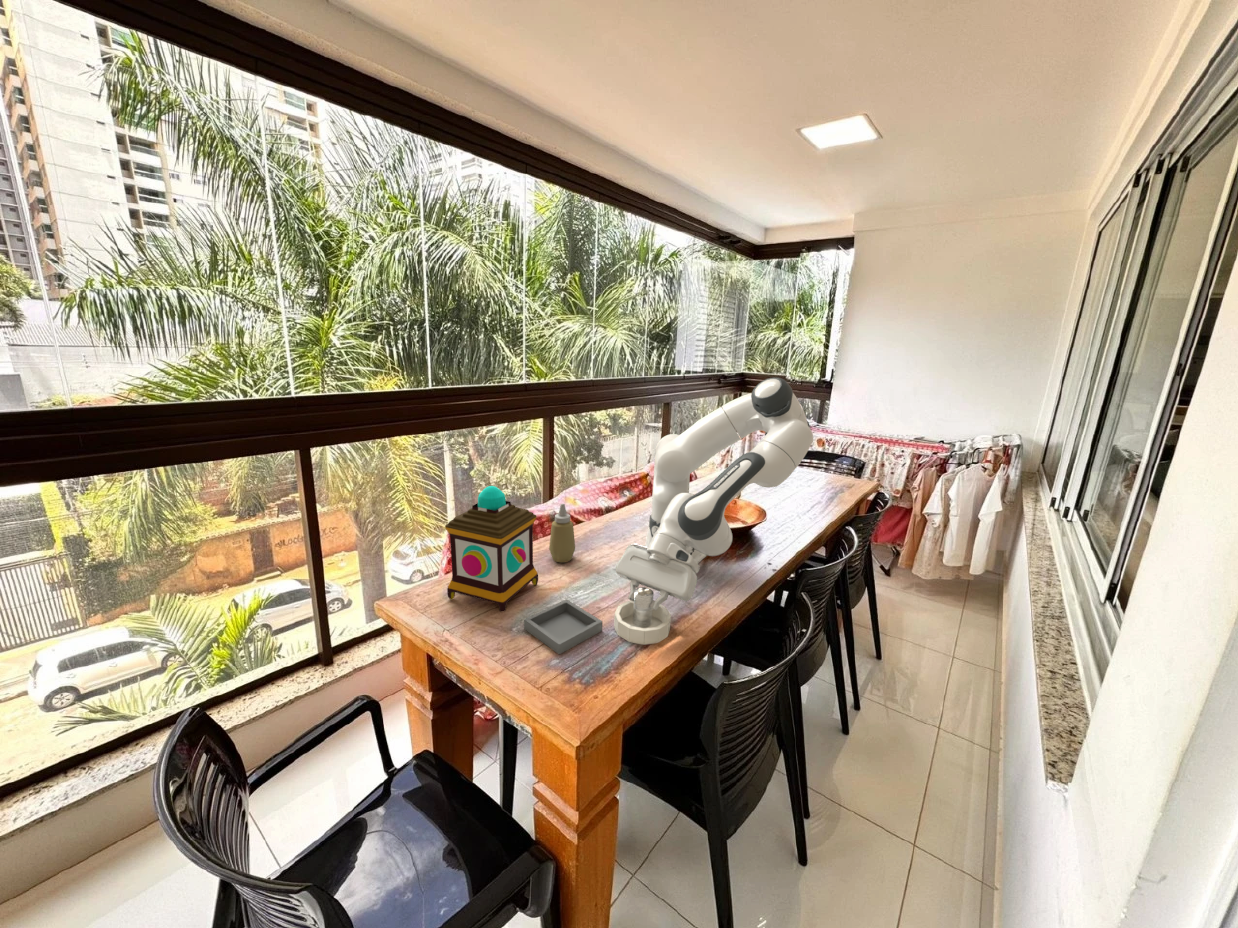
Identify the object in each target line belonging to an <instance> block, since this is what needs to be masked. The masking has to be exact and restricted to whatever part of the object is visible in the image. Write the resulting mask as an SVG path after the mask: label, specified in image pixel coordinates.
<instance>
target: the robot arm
mask: <svg viewBox="0 0 1238 928" xmlns="http://www.w3.org/2000/svg"><path fill="white" fill-rule="evenodd" d="M757 431H762V432H764V436H763V437H762V438H761V440H760V441H759V442H758V443H756V445H755V446H754V447H753V448H752V449H751V450H750V451H748V452H746V453H744V454H742V455H740V456H739V457H738V458H736V459H735V460H733V462H732V463H730V464H729V465H728V466H727V467H726V468H725V469H724V470H723V471H722V472H721V473H720V474H719V475H718V476H716V477H715V479H714V480H712V481H711V482H710V483H709V484H708V485H707V486H706V487H705V488H703V489H702V490H700V491H698V492H696V493H690V480H691V479H690V474H692V473H693V472H695V471H696V470H698V469H699V468H700V467H701V466H702V465H704V464H705V463H707V462H708V461H709V460H710V459H711V458H713V457H714V456H716V455H717V454H718V453H720V452H722V451H724V450H725V449H727V448H728V447H730V446H732V445H734V444H735V443H737V442H738V441H740V440H742V439H744V438H746V437H747V436H748V435H750V434H752V433H753V432H757ZM813 441H814V433H813V431H812V429H811V426H810V423H809V420H808V419H807V416H806V413H805V411H804V408H803V406H802V404H801V403H800V402H799V400H798V398H797V396H796V395H795V393H794V392H793V388H792V387H791V385H790V384H789V382H787V381H786V379H783V378H781V377H769V378H766V379H764V380H762V381H760V382H759V383H758V384H757V385H756V386H755V387H754V388H753V389H752V392H750V393H747V394H744V395H742V396H739V397H737V398H735V399H733V400H730V401H728V402H726V403H725V404H723V405H721V406H720V407H718V408H716V409H715V410H713V411H711V412H710V413H708V414H706V415H705V416H703V417H702V418H700V419H698V420H697V421H696V422H695V423H694V424H692V425H691V426H689V427H688V428H687V429H685V431H683V432H682V433H681V434H677V433H670V434H667V435H665V436H663V437H662V438H660V439H659V441H658V442H657V444H656V446H655V450H654V465H653V467H654V468H653V482H652V496H651V511H650V515H649V520H648V528H647V533H646V537H645V545H643V544H642V545H641V544H639V543H638V542H635V543H631V544H628V546H626V549H625V551H624V552H623V554H622V556H621V558H620V559H619V561H618V562H617V564H616V567H615V573H616V574H617V575H618V576H619V577H621V578H622V579H625V580H628V581H630V583H629V586H630V587H629V588H630V593H629V595H628V598H627V599H628V601H633V602H634V591H635V590H636V589H637V588H640V587H639V586H640V585H642V587H645V588H649V589H651V590H653V591H654V590H655V591H657V592H659V594H658V595H659V597H657V599H655V600H654V599H653V600H652V601H651V604H650V606H649V607H650V608H651V609H653V610H655V611H657V609H658V607H659V605H660V604H661V605H662V604H663V603H664V602H665V601H667V600H668V597H673V598H676V599H678V600H681V601H683V602H688V601H690V600H692V598H693V596H694V593H695V590H696V586H697V582H698V575H697V574H698V573H699V571H700V568H701V567H700V564H699V563H700V562H701V561H702V560H703V559H705V558H706V557H707V556H708V557H718V556H721V555H722V554H725V553H726V552H727V551H729V549H730V547H731V546H732V543H733V538H734V537H733V533H732V530H731V527H730V525H729V523H728V521H727V520H726V518H725V511H726V508H727V507H728V506H729V504H731V502H733V500H734V499H736V497H738V495H739V494H740V493H741V492H743V490H745V488H746V487H748V486H749V485H751V484H755V485H757V486H760V487H762V488H776V487H778V486H781V484H783V483H784V482H785V481H786V480H787V479H788V478H789V477H790V476H791V474H793V473H794V471H795V470H796V469H797V467H799V465H800V464H801V463H802V461H803V460H804V458H805V457H806V455H807V453H808V452H809V449H810V447H811V446H812V444H813Z"/></svg>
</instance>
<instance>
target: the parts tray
mask: <svg viewBox="0 0 1238 928" xmlns="http://www.w3.org/2000/svg"><path fill="white" fill-rule="evenodd" d="M523 629H524V630H525V631H526V632H527V633H529V634H530V635H532V636H533V637H535V638H536V639H538V641H540V642H541V643H543V644H544V645H545V646H547V647H548V648H549V649H551V650H553V651H554V652H555V653H556V654H558V655H561V654H563V653H565V652H567V651H569V650H570V649H572V648H574V647H576V646H577V645H579V644H582V643H583V642H585V641H587V640H588V639H590V638H592V637H593V636H596V635H597V634H599V633H600V632H602V631H603V620H601V619H599V618H598V617H597V616H595V615H593V614H592V613H590V612H588V611H587V610H585V609H583V608H582V607H580V606H578V605H577V604H575V603H573V602H572V601H570V600H568V599H564V600H563V601H560V602H558V603H556V604H553V605H552V606H549V607H547V608H545V609H543V610H541V611H538V612H537V613H534V614H532V615H530V616H528V617H526V618H523Z"/></svg>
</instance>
